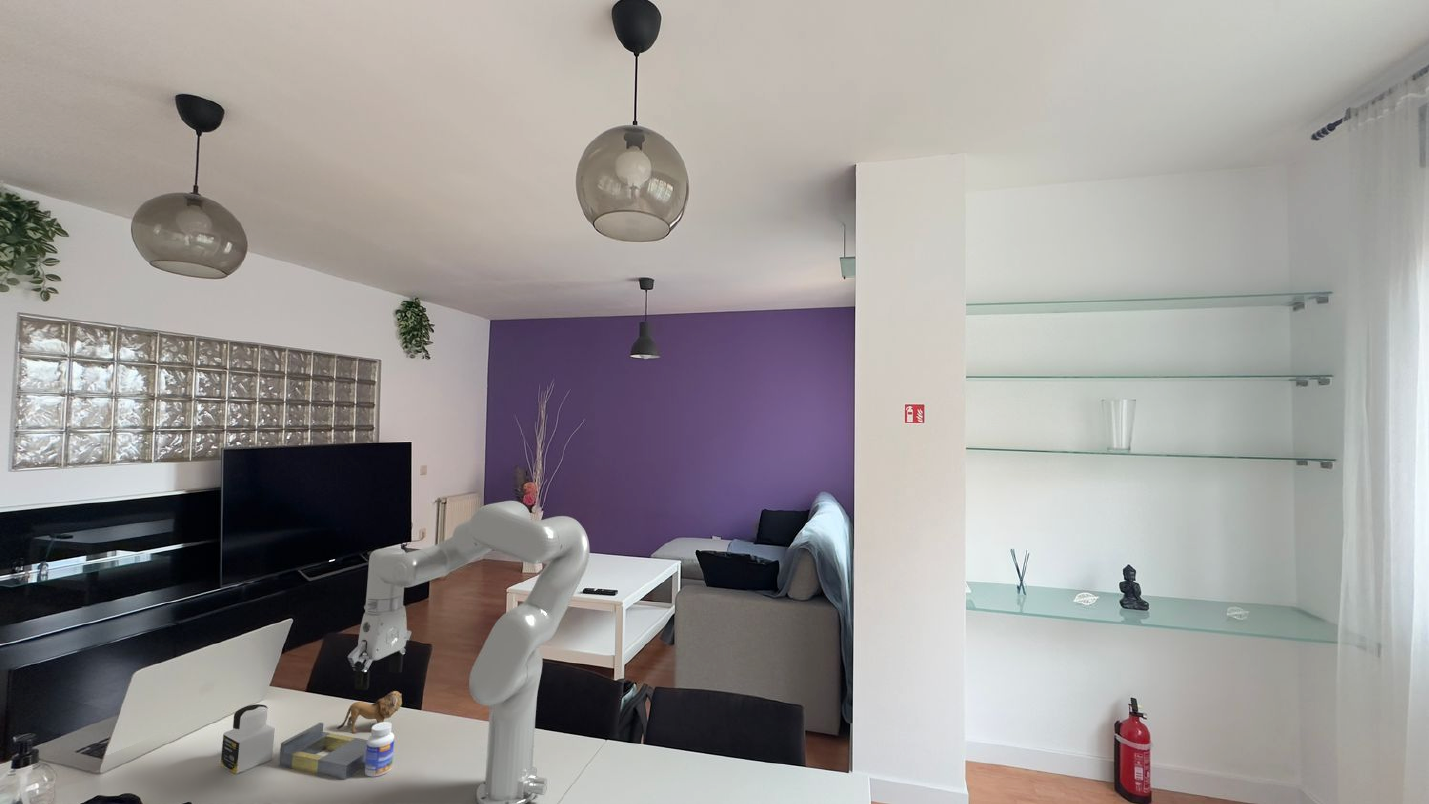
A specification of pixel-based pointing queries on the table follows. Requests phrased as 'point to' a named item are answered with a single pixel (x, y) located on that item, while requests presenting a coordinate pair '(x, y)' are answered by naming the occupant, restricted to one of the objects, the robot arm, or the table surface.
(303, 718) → the table surface
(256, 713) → the medicine bottle
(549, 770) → the table surface
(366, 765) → the pill bottle
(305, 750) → the grey and tan frame
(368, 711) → the lion figurine
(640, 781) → the table surface
